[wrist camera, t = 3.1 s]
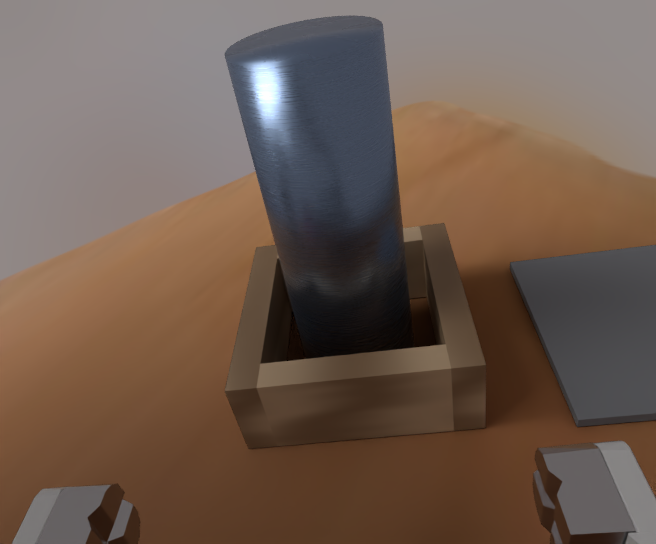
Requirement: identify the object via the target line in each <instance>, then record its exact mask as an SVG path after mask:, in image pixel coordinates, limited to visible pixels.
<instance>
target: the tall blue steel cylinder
mask: <svg viewBox="0 0 656 544" xmlns="http://www.w3.org/2000/svg"><path fill="white" fill-rule="evenodd" d="M225 58H226V62H227V66H228V70H229V73H230V77H231V81H232V84H233V88H234V92H235V96H236V99H237V103H238V106H239V110H240V114H241V118H242V122H243V125H244V129H245V133H246V137H247V141H248V144H249V148H250V151H251V155H252V159H253V163H254V167H255V170H256V174H257V178H258V182H259V185H260V189H261V193H262V197H263V200H264V204H265V208H266V212H267V215H268V219H269V223H270V226H271V230H272V234H273V238H274V241H275V245H276V249H277V253H278V256H279V260H280V264H281V268H282V271H283V275H284V279H285V283H286V286H287V290H288V294H289V298H290V301H291V305H292V309H293V312H294V316H295V320H296V324H297V327H298V331H299V335H300V339H301V342H302V346H303V350H304V354H305V357H306V359H311V358H320V357H330V356H339V355H349V354H358V353H368V352H377V351H387V350H396V349H406V348H415V347H414V337H413V327H412V317H411V307H410V297H409V286H408V276H407V266H406V256H405V246H404V236H403V225H402V215H401V205H400V195H399V185H398V175H397V164H396V154H395V144H394V134H393V124H392V114H391V103H390V93H389V83H388V74H387V63H386V53H385V43H384V32H383V24H382V22H381V21H379V20H377V19H375V18H371V17H365V16H335V17H324V18H316V19H311V20H304V21H300V22H294V23H290V24H286V25H282V26H278V27H274V28H271V29H268V30H264V31H261V32H259V33H256V34H253V35H251V36H248V37H246V38H244V39H242V40H240V41H238V42H236V43H235V44H233V45H232V46H230V47H229V48H228V49H227V51H226V52H225Z"/></svg>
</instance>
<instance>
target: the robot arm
mask: <svg viewBox="0 0 656 544" xmlns="http://www.w3.org/2000/svg"><path fill="white" fill-rule="evenodd" d="M535 462H536V465H537V468H538V470H537V471H536V472H534V473H533V492H534V500H535V504H536V508H537V512H538V515H539V519H540V522H541V525H542V526H543V527H544V528H546V529H547V530H548V531H549V532H550V533H551V535H550V543H549V544H656V497H655V495H654V493H653V491H652V489H651V487H650V486H649V484H648V482H647V480H646V478H645V476H644V474H643V472H642V470H641V468H640V466H639V464H638V462H637V460H636V458H635V456H634V454H633V452H632V450H631V448H630V447H629V446H628V445H627V444H626V443H625V442H624V441H612V442H601V443H584V444H574V445H564V446H554V447H544V448H538V449H537V450H536V453H535ZM124 493H125V492H124V491H123V489H122V488H121V487H120V486H119V484H118V483H115V484H102V485H89V486H76V487H59V488H48V489H42V490H41V491H40V492H39V493H38V494H37V495H36V496H35V498H34V499H33V501H32V503H31V505H30V507H29V510H28V512H27V514H26V516H25V518H24V520H23V522H22V524H21V526H20V528H19V530H18V532H17V534H16V536H15V538H14V540H13V542H12V544H138V541H139V537H140V518H139V514H138V511H137V510H136V508H135V506H134V505H133V504H131V503H129V502H127V501H125V500H123V496H124Z"/></svg>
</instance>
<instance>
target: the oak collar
mask: <svg viewBox="0 0 656 544" xmlns="http://www.w3.org/2000/svg"><path fill="white" fill-rule="evenodd" d="M403 236H404V246H405V256H406V266H407V276H408V286H409V297H410V299H412V298H420V297H427V301H428V306H429V311H430V316H431V321H432V326H433V330H434V335H435V340H436V345H434V346H425V347H415V348H406V349H396V350H387V351H377V352H368V353H358V354H349V355H339V356H330V357H320V358H311V359H301V360H292V361H287V352H288V343H289V334H290V325H291V315H292V312H293V309H292V305H291V301H290V298H289V294H288V290H287V286H286V283H285V279H284V275H283V271H282V268H281V264H280V260H279V256H278V253H277V249H276V245H271V246H263V247H256V251H255V255H254V260H253V264H252V269H251V273H250V278H249V283H248V287H247V292H246V296H245V301H244V305H243V310H242V314H241V319H240V323H239V328H238V333H237V337H236V342H235V346H234V351H233V355H232V360H231V364H230V369H229V374H228V378H227V383H226V387H225V393H226V396H227V398H228V401H229V403H230V405H231V408H232V410H233V413H234V415H235V417H236V420H237V422H238V425H239V427H240V430H241V432H242V434H243V437H244V439H245V442H246V444H247V447H248V449H252V448H263V447H275V446H286V445H297V444H309V443H320V442H332V441H343V440H354V439H366V438H377V437H389V436H400V435H412V434H423V433H434V432H446V431H457V430H469V429H480V428H485V426H486V363H485V359H484V356H483V353H482V349H481V346H480V342H479V339H478V336H477V332H476V329H475V325H474V322H473V319H472V315H471V312H470V309H469V305H468V302H467V298H466V295H465V292H464V288H463V285H462V281H461V278H460V275H459V271H458V268H457V265H456V261H455V258H454V254H453V251H452V248H451V244H450V241H449V237H448V234H447V231H446V227H445V224H444V223H441V224H433V225H425V226H418V227H410V228H403Z"/></svg>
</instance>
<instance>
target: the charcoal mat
mask: <svg viewBox="0 0 656 544" xmlns="http://www.w3.org/2000/svg"><path fill="white" fill-rule="evenodd" d="M510 270H511V273H512V275H513V277H514V280H515V282H516V284H517V287H518V289H519V291H520V294H521V296H522V298H523V301H524V303H525V305H526V308H527V310H528V312H529V315H530V317H531V319H532V322H533V324H534V327H535V329H536V331H537V334H538V336H539V338H540V341H541V343H542V345H543V348H544V350H545V352H546V355H547V357H548V359H549V362H550V364H551V366H552V369H553V371H554V374H555V376H556V378H557V381H558V383H559V385H560V388H561V390H562V392H563V395H564V397H565V399H566V402H567V404H568V406H569V409H570V411H571V413H572V416H573V418H574V420H575V423H576V425H577V427H580V426H592V425H604V424H615V423H627V422H638V421H650V420H656V245H651V246H642V247H634V248H626V249H617V250H609V251H601V252H592V253H584V254H576V255H567V256H559V257H551V258H542V259H534V260H526V261H517V262H510Z"/></svg>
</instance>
